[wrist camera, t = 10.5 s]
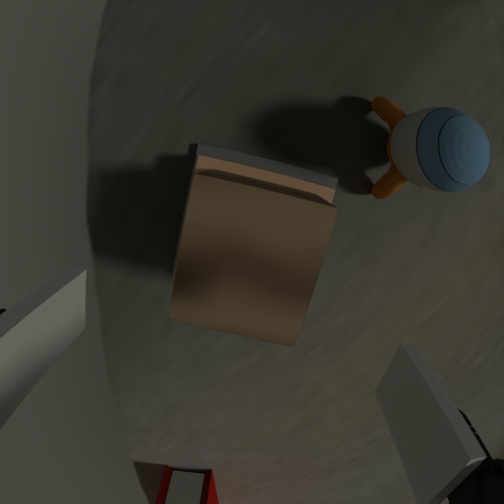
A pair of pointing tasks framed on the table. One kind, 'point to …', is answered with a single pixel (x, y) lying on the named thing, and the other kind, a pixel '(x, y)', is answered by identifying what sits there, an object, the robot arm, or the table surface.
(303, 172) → the build base
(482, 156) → the toy rocket
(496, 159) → the table surface
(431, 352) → the table surface
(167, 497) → the book
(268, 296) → the walnut brick
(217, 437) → the table surface
